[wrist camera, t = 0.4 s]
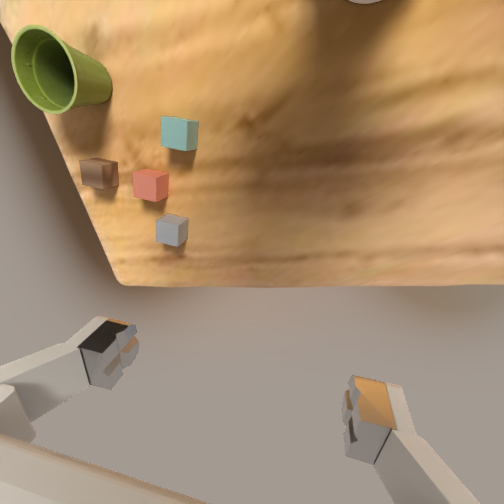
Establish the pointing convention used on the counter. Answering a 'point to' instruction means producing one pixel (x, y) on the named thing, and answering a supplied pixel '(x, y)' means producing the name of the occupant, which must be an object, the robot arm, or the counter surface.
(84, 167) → the walnut block
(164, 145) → the muted teal block
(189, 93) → the counter surface
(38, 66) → the plant pot
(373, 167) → the counter surface
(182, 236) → the slate grey block
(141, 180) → the brick-red block
